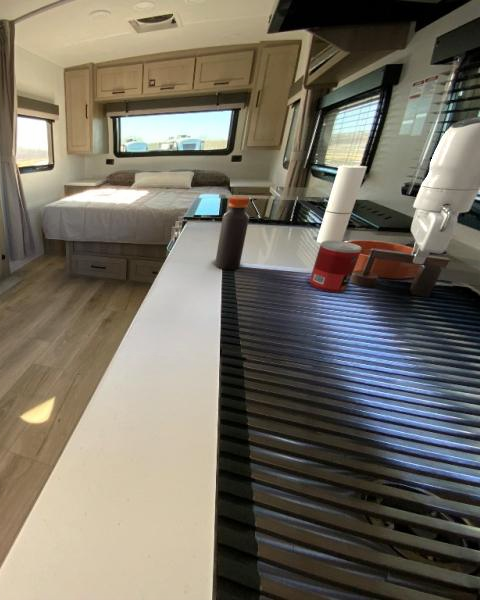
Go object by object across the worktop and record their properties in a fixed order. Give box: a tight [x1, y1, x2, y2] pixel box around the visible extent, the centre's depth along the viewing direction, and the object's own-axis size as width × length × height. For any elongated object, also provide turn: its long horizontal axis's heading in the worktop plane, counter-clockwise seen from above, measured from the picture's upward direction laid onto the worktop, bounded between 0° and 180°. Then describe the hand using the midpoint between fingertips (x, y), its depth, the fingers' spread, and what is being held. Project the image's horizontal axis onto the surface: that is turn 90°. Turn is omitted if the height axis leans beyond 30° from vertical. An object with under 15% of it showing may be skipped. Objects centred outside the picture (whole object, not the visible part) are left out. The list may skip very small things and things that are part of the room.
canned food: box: [309, 240, 361, 293], centre depth 82 cm, size 8×8×11 cm
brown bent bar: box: [349, 249, 451, 288], centre depth 81 cm, size 16×5×9 cm, turn 53°
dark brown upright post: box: [409, 265, 442, 298], centre depth 78 cm, size 3×4×7 cm
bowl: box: [344, 239, 420, 280], centre depth 94 cm, size 19×19×6 cm
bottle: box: [214, 196, 250, 271], centre depth 95 cm, size 7×7×20 cm
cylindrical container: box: [316, 165, 368, 244], centre depth 111 cm, size 7×7×25 cm
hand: (416, 260), depth 78 cm, fingers closed on brown bent bar
